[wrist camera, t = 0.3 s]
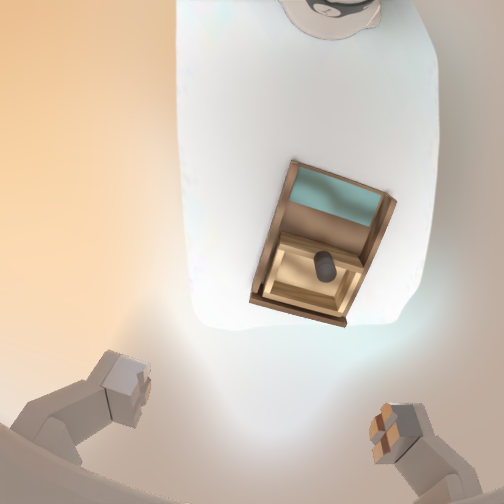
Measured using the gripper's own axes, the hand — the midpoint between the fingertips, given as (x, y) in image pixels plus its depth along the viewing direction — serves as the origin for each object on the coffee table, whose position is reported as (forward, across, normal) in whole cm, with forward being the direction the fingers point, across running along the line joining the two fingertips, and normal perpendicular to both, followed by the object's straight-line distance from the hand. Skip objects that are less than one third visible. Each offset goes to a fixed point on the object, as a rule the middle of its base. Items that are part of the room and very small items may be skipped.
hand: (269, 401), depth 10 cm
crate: (+45, -9, +15) cm, 48 cm away
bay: (+46, -10, +10) cm, 48 cm away
